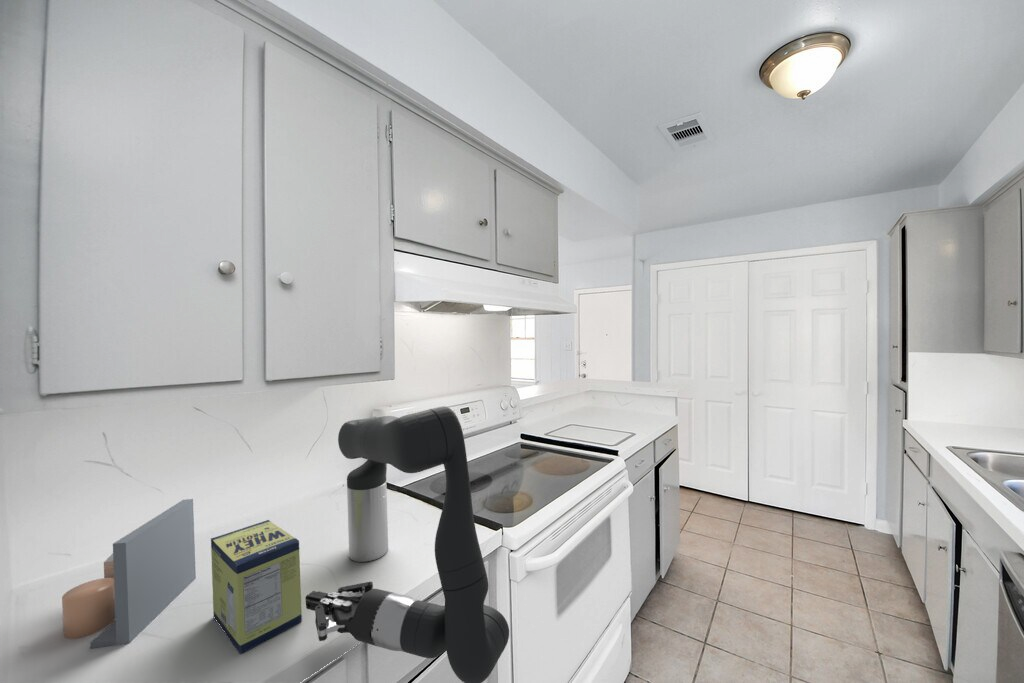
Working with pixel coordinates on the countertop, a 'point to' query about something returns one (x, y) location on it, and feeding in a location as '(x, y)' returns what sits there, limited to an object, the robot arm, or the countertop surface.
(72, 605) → the tan rounded cylinder
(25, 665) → the countertop surface
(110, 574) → the tea tin
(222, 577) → the protein box
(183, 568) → the display board
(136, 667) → the countertop surface
